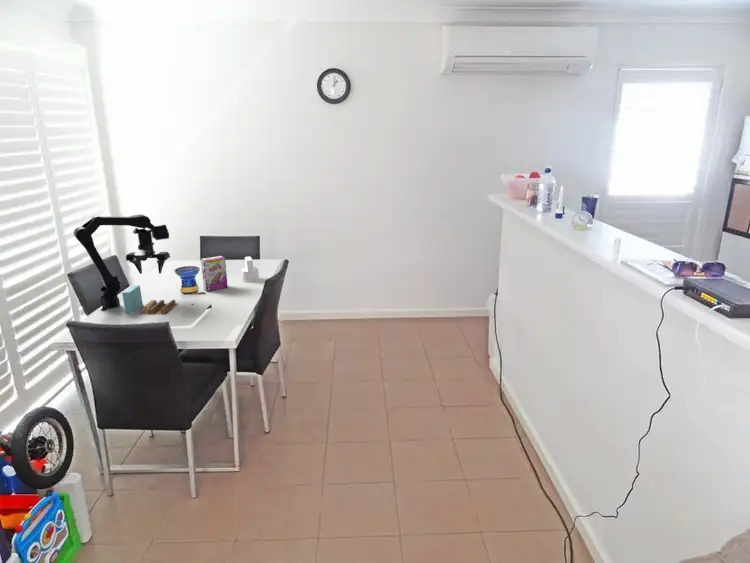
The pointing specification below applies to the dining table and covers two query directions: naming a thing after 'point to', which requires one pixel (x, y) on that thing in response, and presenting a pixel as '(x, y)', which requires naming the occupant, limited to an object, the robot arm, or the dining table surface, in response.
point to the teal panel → (132, 299)
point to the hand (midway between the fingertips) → (150, 273)
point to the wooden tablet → (198, 294)
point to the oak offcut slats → (149, 306)
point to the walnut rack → (161, 308)
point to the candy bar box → (214, 273)
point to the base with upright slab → (249, 271)
